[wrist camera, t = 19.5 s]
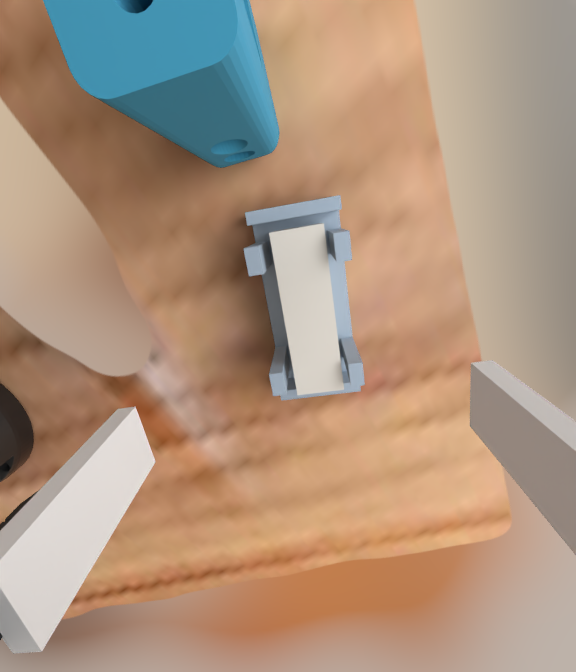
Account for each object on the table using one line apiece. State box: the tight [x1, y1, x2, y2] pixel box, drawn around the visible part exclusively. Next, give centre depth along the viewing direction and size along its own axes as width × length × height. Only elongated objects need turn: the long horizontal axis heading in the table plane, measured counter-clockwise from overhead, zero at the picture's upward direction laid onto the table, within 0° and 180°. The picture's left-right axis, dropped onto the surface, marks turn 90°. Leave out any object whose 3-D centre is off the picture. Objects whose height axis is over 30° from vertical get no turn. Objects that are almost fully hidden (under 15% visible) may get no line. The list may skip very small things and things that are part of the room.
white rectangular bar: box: [269, 223, 344, 395], centre depth 28 cm, size 14×4×5 cm, turn 9°
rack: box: [244, 195, 365, 400], centre depth 28 cm, size 17×8×7 cm, turn 9°
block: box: [43, 0, 279, 168], centre depth 17 cm, size 12×5×20 cm, turn 14°
